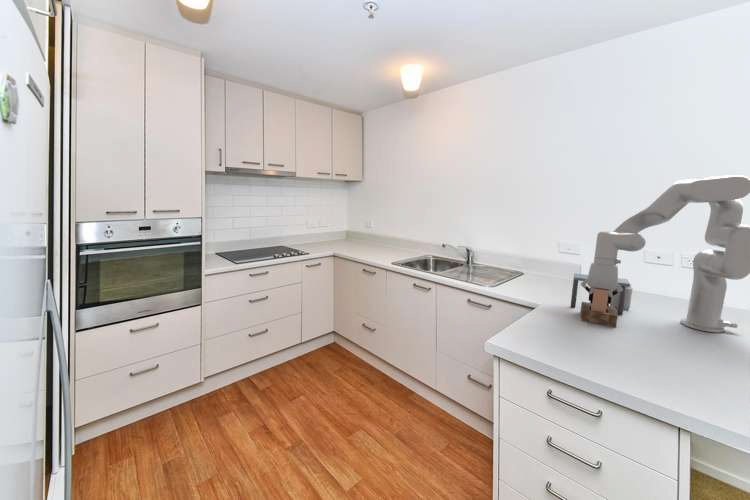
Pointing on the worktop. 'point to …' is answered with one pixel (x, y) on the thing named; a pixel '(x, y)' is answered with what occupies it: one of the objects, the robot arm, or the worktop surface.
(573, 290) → the grey arch frame
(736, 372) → the worktop surface
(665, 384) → the worktop surface
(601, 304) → the peg
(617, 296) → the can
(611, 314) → the socket block
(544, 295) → the worktop surface
